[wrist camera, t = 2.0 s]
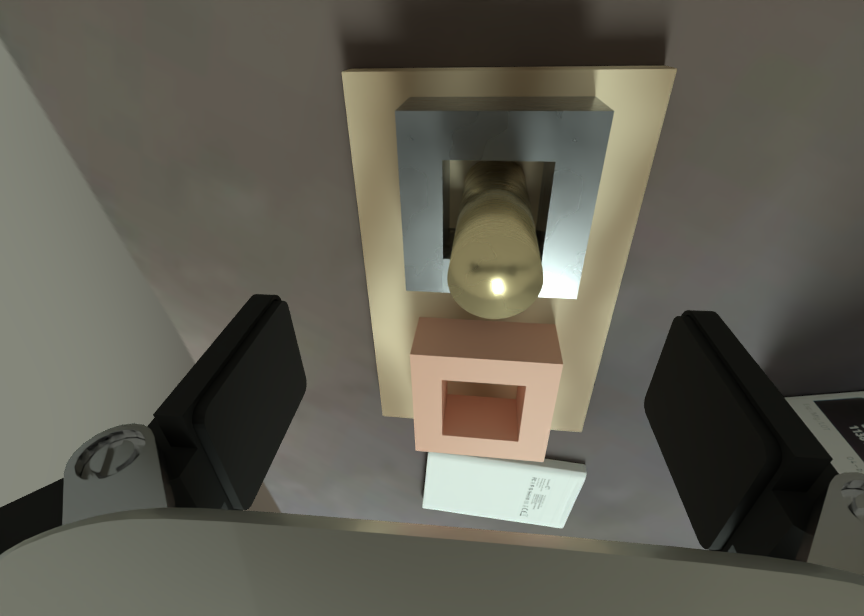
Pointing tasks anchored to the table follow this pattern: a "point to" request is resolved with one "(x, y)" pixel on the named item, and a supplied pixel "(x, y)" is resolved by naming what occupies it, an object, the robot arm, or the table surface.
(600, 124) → the mount collar
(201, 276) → the table surface
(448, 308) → the oak board
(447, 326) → the socket collar
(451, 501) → the external hard drive
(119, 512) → the robot arm
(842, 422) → the container
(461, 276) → the brass pin
